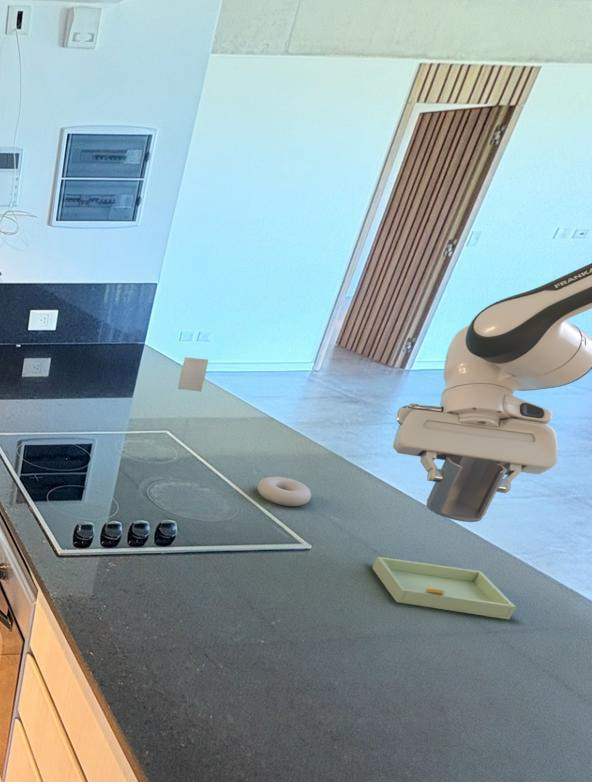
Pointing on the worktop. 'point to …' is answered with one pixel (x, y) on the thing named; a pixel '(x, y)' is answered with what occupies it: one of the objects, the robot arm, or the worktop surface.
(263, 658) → the worktop surface
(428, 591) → the key
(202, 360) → the pinkish tan block
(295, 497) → the donut
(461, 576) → the tray
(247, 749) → the worktop surface
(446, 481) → the steel cup
